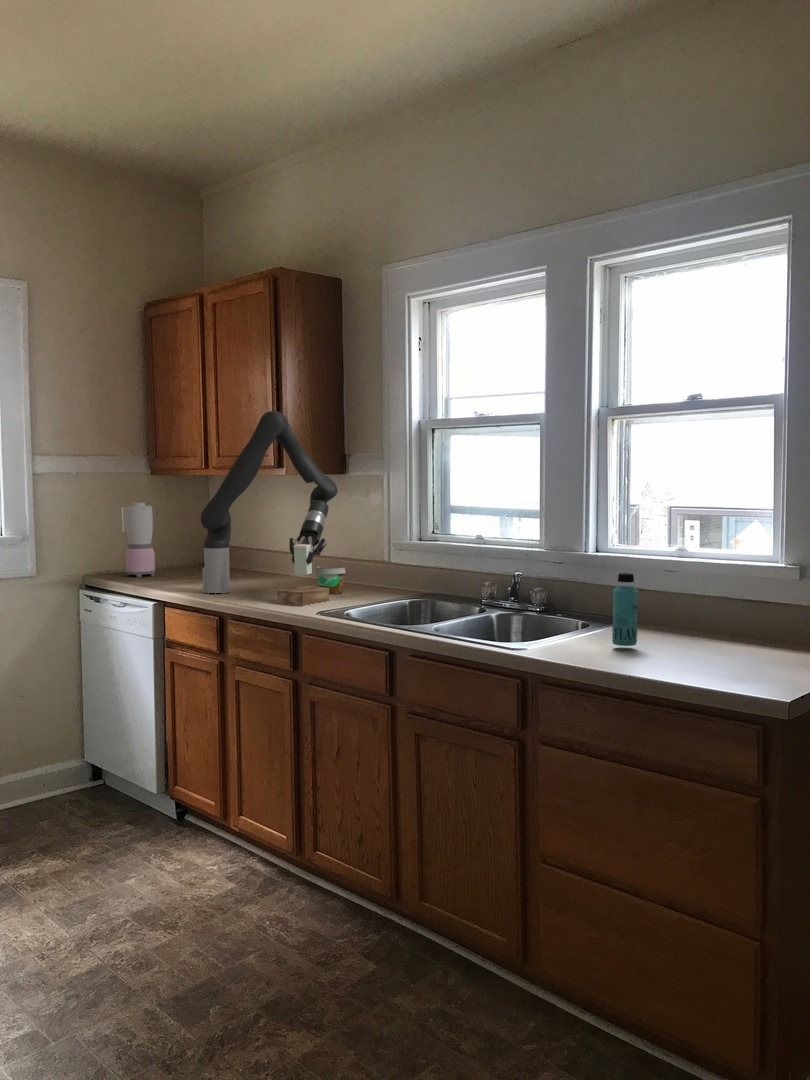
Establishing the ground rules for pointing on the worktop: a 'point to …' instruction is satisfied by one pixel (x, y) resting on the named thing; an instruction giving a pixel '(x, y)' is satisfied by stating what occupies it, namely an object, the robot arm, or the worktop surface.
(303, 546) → the tea tin
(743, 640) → the worktop surface
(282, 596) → the walnut box
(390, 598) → the worktop surface
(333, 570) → the food container
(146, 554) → the blender
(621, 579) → the beverage bottle
